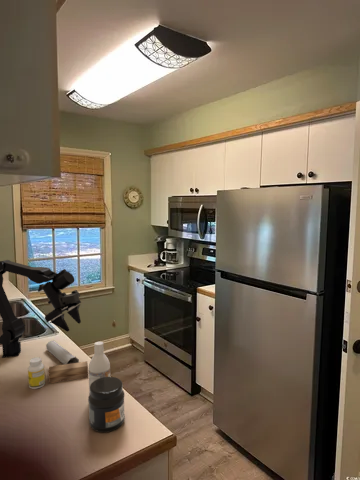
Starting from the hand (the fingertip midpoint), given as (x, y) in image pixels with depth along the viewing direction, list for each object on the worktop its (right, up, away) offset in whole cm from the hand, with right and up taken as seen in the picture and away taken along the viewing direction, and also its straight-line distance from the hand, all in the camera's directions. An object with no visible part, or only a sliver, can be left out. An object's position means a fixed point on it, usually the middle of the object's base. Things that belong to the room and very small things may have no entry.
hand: (74, 326), depth 137 cm
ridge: (+1, -16, -11) cm, 19 cm away
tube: (-7, -15, +4) cm, 17 cm away
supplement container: (+22, -19, -38) cm, 48 cm away
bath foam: (+17, -18, -27) cm, 36 cm away
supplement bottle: (-8, -17, -17) cm, 25 cm away
